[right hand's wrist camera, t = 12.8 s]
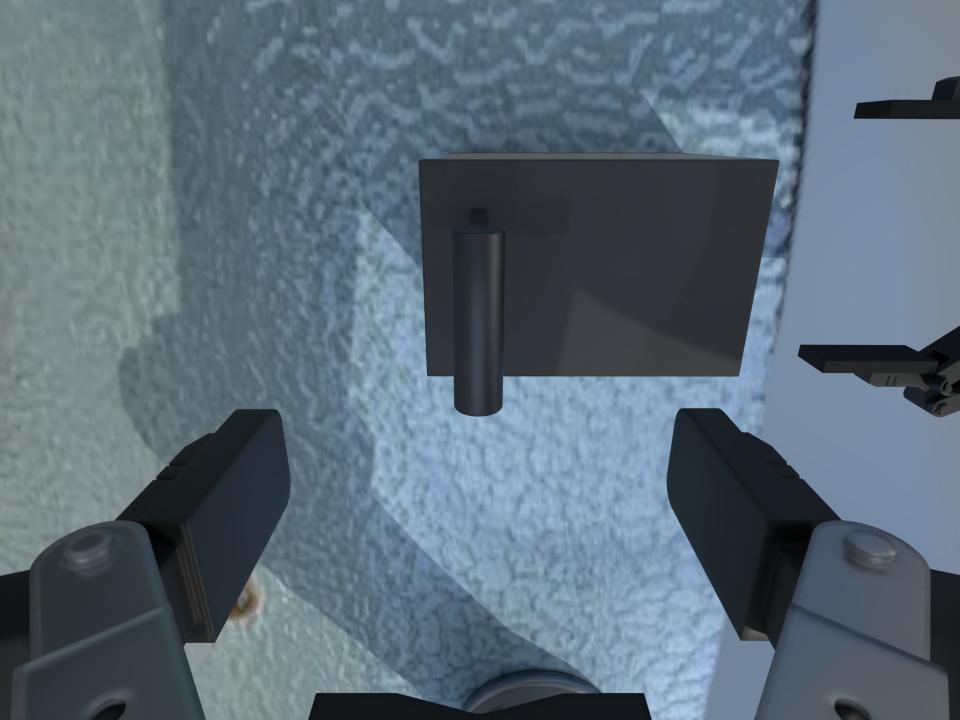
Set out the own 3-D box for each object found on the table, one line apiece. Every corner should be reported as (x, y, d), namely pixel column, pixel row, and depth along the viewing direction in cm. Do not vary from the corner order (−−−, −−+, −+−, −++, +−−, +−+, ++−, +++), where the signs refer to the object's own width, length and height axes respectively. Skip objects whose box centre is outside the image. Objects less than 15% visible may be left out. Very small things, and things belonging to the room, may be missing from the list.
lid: (429, 366, 29) (407, 462, 20) (421, 158, 25) (390, 169, 16) (728, 367, 29) (832, 462, 20) (766, 158, 25) (913, 169, 16)
